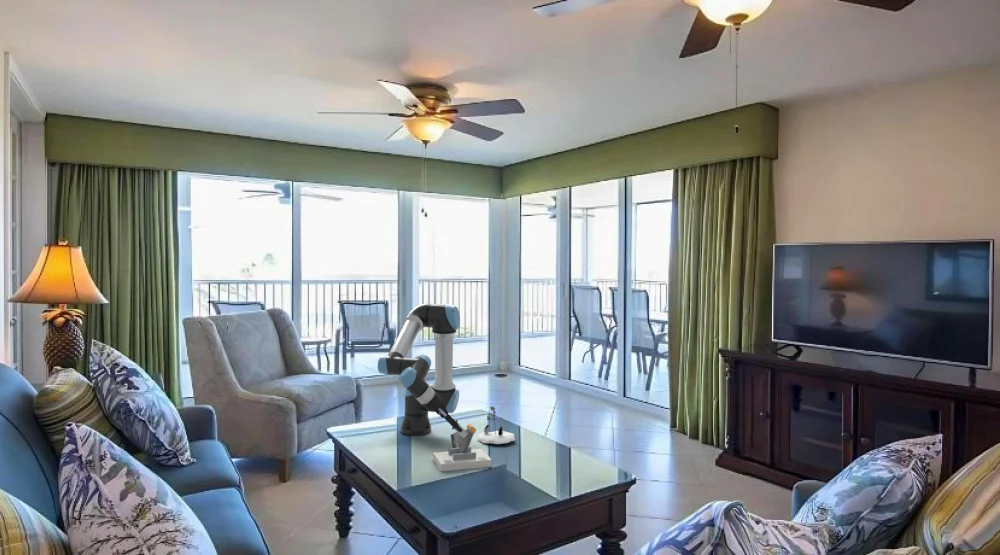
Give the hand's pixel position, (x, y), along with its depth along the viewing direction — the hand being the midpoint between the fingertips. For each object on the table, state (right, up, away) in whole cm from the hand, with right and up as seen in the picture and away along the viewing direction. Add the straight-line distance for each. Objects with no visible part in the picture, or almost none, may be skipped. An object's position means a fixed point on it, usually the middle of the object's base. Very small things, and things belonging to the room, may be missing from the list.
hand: (465, 435), depth 248 cm
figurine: (+13, -12, +33) cm, 38 cm away
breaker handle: (-1, -7, 0) cm, 8 cm away
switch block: (-2, -12, 0) cm, 12 cm away
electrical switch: (-4, -11, +19) cm, 22 cm away
